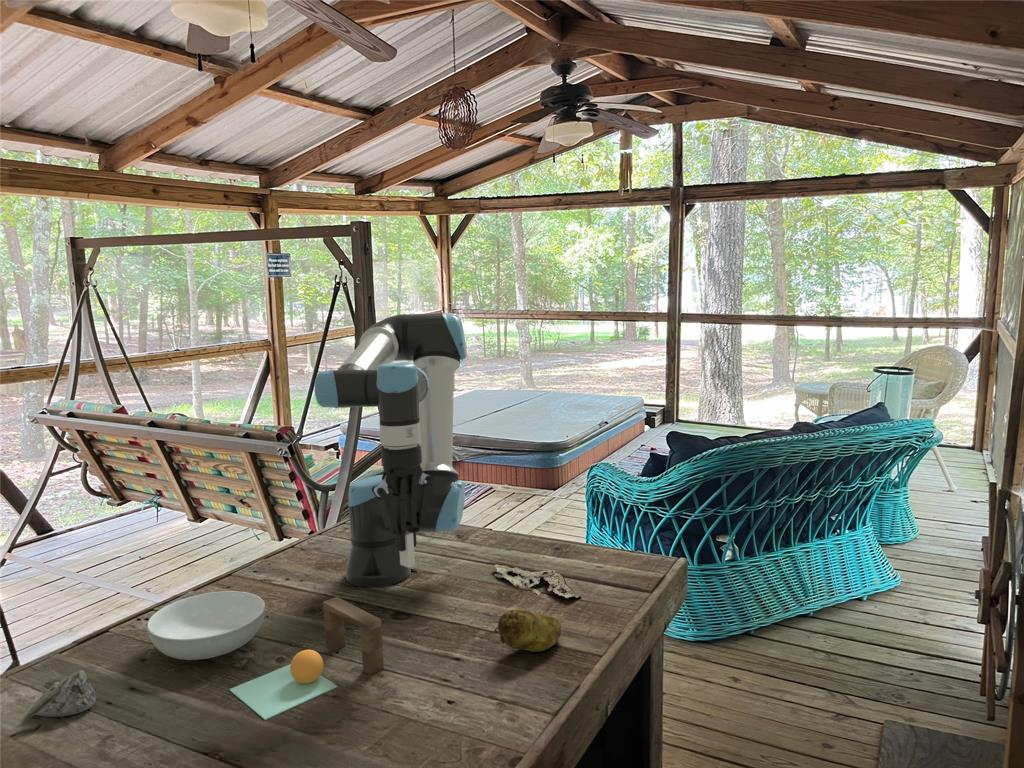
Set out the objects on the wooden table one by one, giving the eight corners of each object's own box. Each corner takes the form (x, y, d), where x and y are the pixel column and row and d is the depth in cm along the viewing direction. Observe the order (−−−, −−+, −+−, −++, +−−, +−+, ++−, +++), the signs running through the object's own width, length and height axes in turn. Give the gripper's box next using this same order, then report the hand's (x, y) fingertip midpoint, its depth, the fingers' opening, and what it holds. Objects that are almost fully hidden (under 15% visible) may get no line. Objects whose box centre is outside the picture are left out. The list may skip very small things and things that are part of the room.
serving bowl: (152, 686, 128) (148, 649, 127) (149, 638, 147) (145, 605, 146) (276, 655, 138) (273, 620, 137) (258, 613, 156) (255, 582, 155)
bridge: (369, 675, 129) (366, 625, 128) (326, 648, 140) (322, 601, 138) (383, 668, 131) (380, 619, 130) (339, 642, 142) (336, 596, 141)
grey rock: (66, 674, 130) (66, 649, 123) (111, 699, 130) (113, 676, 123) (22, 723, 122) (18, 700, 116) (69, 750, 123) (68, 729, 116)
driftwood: (595, 577, 162) (586, 562, 160) (575, 617, 156) (566, 602, 154) (506, 564, 179) (497, 551, 176) (485, 600, 172) (475, 586, 170)
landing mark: (229, 690, 126) (229, 689, 126) (299, 661, 135) (298, 660, 135) (265, 720, 117) (265, 719, 117) (337, 687, 126) (337, 686, 126)
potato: (572, 653, 135) (571, 611, 134) (505, 666, 131) (503, 623, 130) (556, 633, 143) (555, 593, 142) (492, 644, 139) (490, 604, 138)
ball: (313, 644, 132) (308, 675, 131) (287, 647, 127) (281, 679, 127) (332, 653, 128) (326, 685, 128) (305, 656, 124) (299, 690, 123)
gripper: (383, 454, 132) (391, 580, 136) (440, 441, 142) (446, 560, 145) (360, 448, 138) (367, 570, 141) (416, 437, 147) (422, 551, 150)
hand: (407, 564), depth 143 cm, fingers closed
